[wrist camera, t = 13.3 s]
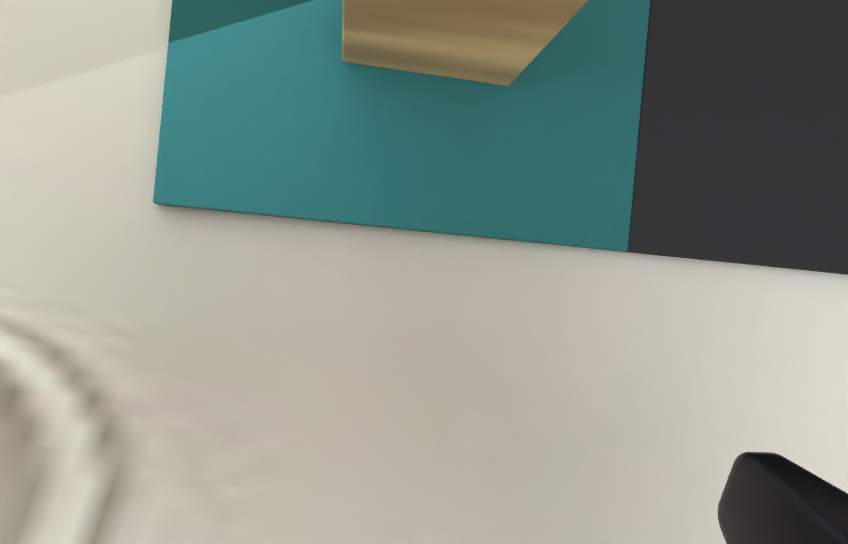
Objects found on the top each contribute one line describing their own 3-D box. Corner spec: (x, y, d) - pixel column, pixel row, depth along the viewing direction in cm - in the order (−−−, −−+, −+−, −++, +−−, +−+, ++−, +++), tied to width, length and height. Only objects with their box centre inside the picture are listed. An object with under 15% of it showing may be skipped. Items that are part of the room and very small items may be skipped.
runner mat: (1066, 296, 23) (1079, 297, 22) (156, 204, 19) (152, 202, 19) (1100, -109, 23) (1114, -116, 23) (203, -282, 19) (200, -294, 19)
